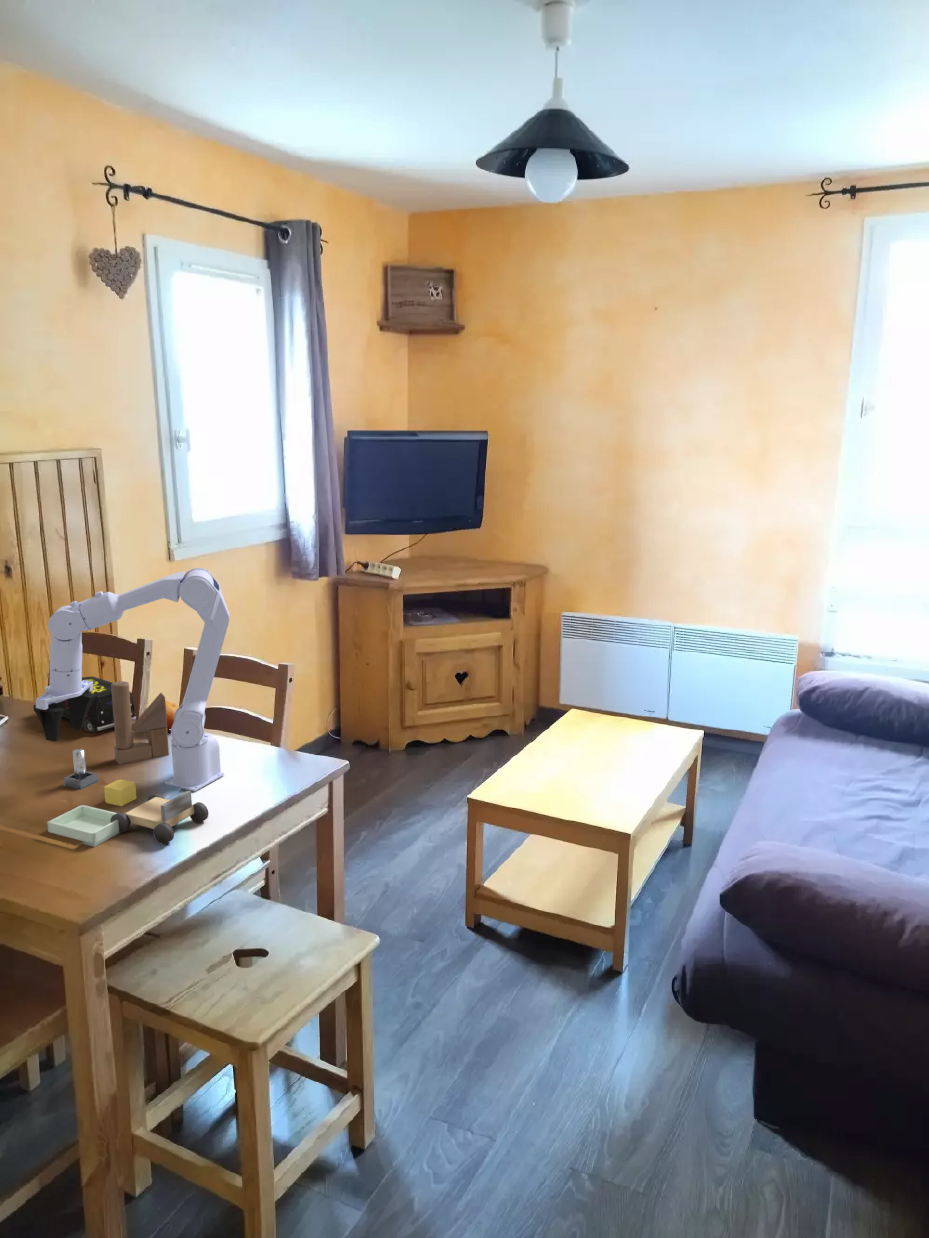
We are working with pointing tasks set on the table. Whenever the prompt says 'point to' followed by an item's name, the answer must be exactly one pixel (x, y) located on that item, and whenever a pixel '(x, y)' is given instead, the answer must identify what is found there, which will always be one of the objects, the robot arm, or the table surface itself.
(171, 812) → the trolley
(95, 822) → the tray
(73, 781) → the pin socket
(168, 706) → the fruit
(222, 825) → the table surface
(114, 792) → the yellow cube
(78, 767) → the pin
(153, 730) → the wooden block
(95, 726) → the toy van
